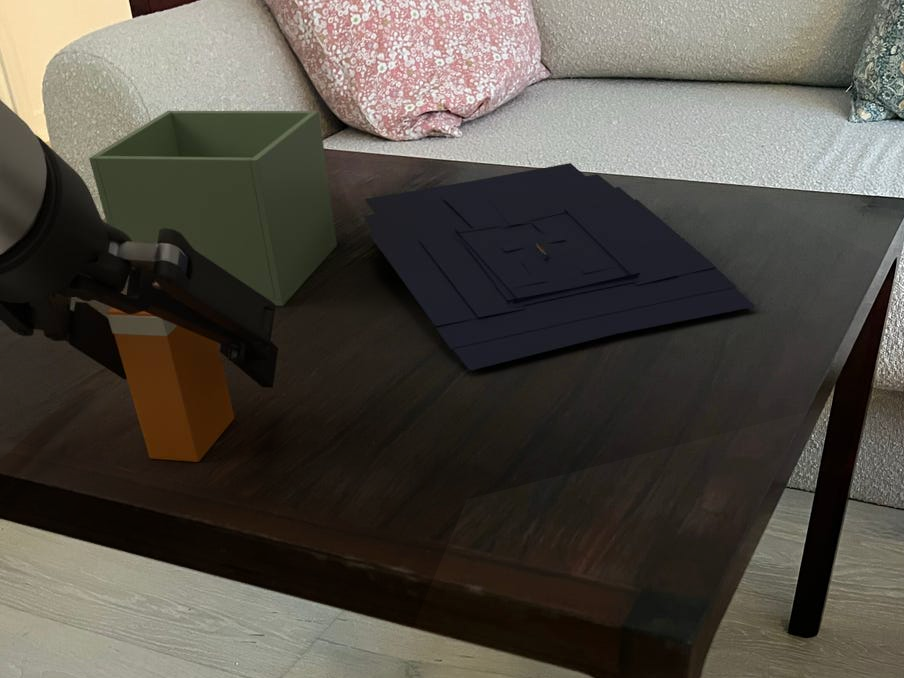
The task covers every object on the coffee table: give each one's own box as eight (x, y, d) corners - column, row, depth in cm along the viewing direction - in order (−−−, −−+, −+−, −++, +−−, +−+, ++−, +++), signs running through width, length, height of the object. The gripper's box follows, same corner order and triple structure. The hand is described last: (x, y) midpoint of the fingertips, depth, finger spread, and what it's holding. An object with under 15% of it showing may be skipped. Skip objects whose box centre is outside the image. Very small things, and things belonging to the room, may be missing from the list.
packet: (148, 459, 69) (105, 311, 62) (188, 414, 73) (151, 272, 67) (199, 463, 68) (161, 313, 61) (236, 418, 72) (204, 274, 66)
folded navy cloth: (586, 188, 102) (589, 150, 100) (752, 337, 83) (761, 294, 80) (347, 232, 96) (343, 192, 94) (466, 404, 77) (465, 360, 74)
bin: (127, 300, 90) (88, 157, 82) (196, 241, 100) (167, 110, 93) (282, 306, 87) (257, 159, 80) (337, 245, 98) (318, 110, 90)
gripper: (-234, 265, 50) (44, 408, 72) (189, 280, 46) (349, 428, 68) (-208, 115, 51) (60, 303, 73) (213, 117, 46) (363, 316, 68)
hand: (199, 363), depth 70 cm, fingers open, 9 cm apart
